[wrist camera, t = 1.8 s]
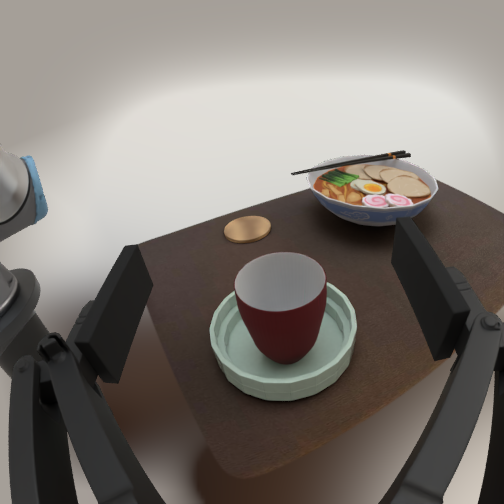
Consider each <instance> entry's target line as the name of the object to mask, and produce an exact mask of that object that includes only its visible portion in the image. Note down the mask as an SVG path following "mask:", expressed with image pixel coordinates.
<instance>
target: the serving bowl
mask: <svg viewBox="0 0 504 504" xmlns="http://www.w3.org/2000/svg"><path fill="white" fill-rule="evenodd" d="M209 330H210V338H211V346H212V348H213V351H214V354H215V357H216V359H217V362H218V365H219V367H220V368H221V370H222V371H223V373H224V375H225V376H226V378H227V380H228V381H230V382H231V383H232V384H233V385H235V386H236V387H237V388H239V389H240V390H241V391H243V392H244V393H246V394H249V395H252V396H255V397H258V398H261V399H264V400H274V401H291V400H292V401H293V400H296V399H300V398H304V397H308V396H311V395H315V394H317V393H318V392H320V391H322V390H323V389H325V388H326V387H328V386H330V385H331V384H333V383H334V382H335V381H336V380H337V379H338V378H339V377H340V376H341V374H342V373H343V372H344V371H345V369H346V368H347V367H348V365H349V363H350V360H351V356H352V353H353V350H354V345H355V338H356V331H357V324H356V316H355V310H354V308H353V307H352V305H351V303H350V302H349V300H348V298H347V297H346V295H344V294H343V293H342V292H341V291H339V290H338V289H337V288H336V287H335V286H333V285H332V284H329V283H327V300H326V307H325V312H324V316H323V320H322V323H321V327H320V330H319V334H318V337H317V340H316V342H315V344H314V346H313V347H312V349H311V350H310V351H309V352H308V353H307V354H306V355H305V356H304V357H303V358H302V359H301V360H299V361H298V362H296V363H293V364H288V365H284V364H279V363H276V362H274V361H273V360H271V359H269V358H268V357H266V356H265V355H264V354H263V353H261V352H260V350H259V349H258V348H257V347H256V345H255V343H254V341H253V339H252V337H251V336H250V334H249V332H248V330H247V328H246V326H245V324H244V322H243V320H242V318H241V315H240V313H239V310H238V306H237V301H236V296H235V291H234V292H232V293H231V294H230V295H229V296H227V297H226V298H225V299H224V300H223V301H222V303H221V304H220V306H219V307H218V308H217V310H216V311H215V312H214V315H213V319H212V322H211V325H210V329H209Z"/></svg>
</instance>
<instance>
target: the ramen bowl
mask: <svg viewBox="0 0 504 504" xmlns="http://www.w3.org/2000/svg"><path fill="white" fill-rule="evenodd" d="M406 157H411V154H410V153H406V154H405V151H397V152H392V153H386V154H381V155H376V156H372V155H357V156H343V157H339V158H335V159H331V160H327V161H324V162H322V163H320V164H318V165H317V166H315V167H313V168H311V169H308V170H303V171H299V172H294V173H291V174H292V175H296V174H301V173H307V172H309V173H308V175H307V177H306V179H307V181H308V183H309V186H310V188H311V190H312V192H313V193H314V195H315V197H316V198H317V199H318V200H319V202H320V203H321V204H322V205H323V206H324V207H325V208H327V209H328V210H329V211H331V212H332V213H334V214H335V215H337V216H338V217H340V218H342V219H344V220H347V221H350V222H353V223H356V224H359V225H368V226H387V225H395V224H396V218H397V217H411V218H413V217H415V216H416V215H417V214H419V213H420V212H421V211H422V210H423V209H424V208H425V207H426V206H427V204H428V203H429V202H430V200H431V199H432V198H433V196H434V195H435V193H436V192H437V190H438V186H437V183H436V180H435V178H434V177H433V176H432V175H431V174H430V173H428V172H427V171H426V170H425V169H424V168H421V167H419V166H417V165H414V164H412V163H410V162H407V161H403V160H399V159H397V158H406ZM305 171H306V172H305ZM300 172H301V173H300ZM295 173H296V174H295Z"/></svg>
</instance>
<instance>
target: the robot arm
mask: <svg viewBox="0 0 504 504" xmlns="http://www.w3.org/2000/svg"><path fill="white" fill-rule="evenodd" d="M47 212H48V207H47V203H46V199H45V196H44V194H43V189H42V186H41V182H40V179H39V175H38V172H37V169H36V166H35V163H34V160H33V158H32V157H31V156H26V157H21V158H19V157H17V156H15V155H13V154H11V153H6V152H5V151H4V149H3V147H2V146H1V144H0V242H1V241H2V240H4V239H6V238H8V237H10V236H11V235H13V234H15V233H17V232H19V231H21V230H22V229H24V228H26V227H28V226H30V225H33V224H36V223H37V221H39V220H41V219H42V218H44V217H45V216H46V214H47ZM391 263H392V265H393V267H394V269H395V271H396V273H397V275H398V278H399V280H400V282H401V284H402V286H403V288H404V290H405V293H406V295H407V297H408V299H409V301H410V304H411V306H412V308H413V310H414V313H415V315H416V317H417V320H418V322H419V324H420V327H421V329H422V331H423V334H424V336H425V339H426V341H427V344H428V346H429V349H430V351H431V354H432V356H433V359H434V361H437V360H441V359H446V358H450V356H451V354H452V352H453V350H454V348H455V351H456V353H457V355H458V356H457V358H456V360H455V362H454V364H453V366H452V368H451V370H450V371H451V373H450V376H449V377H448V380H447V382H446V385H445V387H444V389H443V391H442V394H441V396H440V398H439V400H438V402H437V405H436V407H435V409H434V411H433V413H432V415H431V417H430V419H429V421H428V423H427V425H426V427H425V429H424V431H423V433H422V435H421V437H420V438H419V440H418V442H417V444H416V446H415V447H414V449H413V451H412V453H411V455H410V456H409V458H408V459H407V461H406V463H405V465H404V466H403V468H402V469H401V471H400V473H399V474H398V476H397V477H396V479H395V481H394V482H393V484H392V485H391V487H390V488H389V490H388V491H387V493H386V494H385V495H384V497H383V498H382V500H381V501H380V502H379V503H378V504H443V496H444V493H445V491H446V489H447V487H448V486H449V484H450V482H451V479H452V478H453V476H454V474H455V472H456V469H457V467H458V465H459V463H460V461H461V459H462V456H463V454H464V452H465V450H466V447H467V445H468V443H469V440H470V438H471V436H472V433H473V430H474V428H475V425H476V422H477V420H478V417H479V414H480V411H481V409H482V406H483V403H484V400H485V397H486V394H487V391H488V387H489V384H490V381H491V377H492V374H493V371H495V384H494V385H495V386H494V405H493V417H492V427H491V435H490V443H489V450H488V456H487V462H486V469H485V474H484V479H483V484H482V488H481V492H480V497H479V501H478V504H504V323H503V322H502V321H501V319H500V318H498V316H497V315H495V314H493V313H491V312H487V311H486V310H485V309H484V307H483V305H482V304H481V302H480V300H479V299H478V297H477V295H476V294H475V292H474V291H473V289H472V287H471V286H470V284H469V283H468V282H467V280H466V278H465V277H464V275H463V274H462V273H461V272H460V271H459V270H458V269H456V268H455V267H447V268H445V266H444V265H443V263H442V262H441V260H440V259H439V257H438V256H437V254H436V253H435V251H434V250H433V248H432V247H431V245H430V244H429V242H428V241H427V240H426V238H425V237H424V235H423V234H422V232H421V231H420V230H419V228H418V227H417V225H416V224H415V223H414V221H413V220H412V219H411V217H397V218H396V226H395V236H394V244H393V252H392V260H391ZM152 287H153V283H152V280H151V278H150V275H149V273H148V270H147V268H146V265H145V263H144V260H143V257H142V255H141V252H140V250H139V247H138V244H136V245H128V246H125V247H124V248H123V250H122V252H121V253H120V255H119V257H118V259H117V260H116V262H115V264H114V266H113V267H112V269H111V271H110V273H109V274H108V276H107V278H106V280H105V282H104V284H103V285H102V287H101V289H100V291H99V293H98V295H97V297H96V298H95V300H94V301H89V302H88V303H87V304H86V305H85V306H84V307H83V309H82V311H81V313H80V314H79V318H77V320H76V322H75V325H74V326H73V328H72V330H71V332H70V334H69V336H68V338H67V340H66V342H65V341H64V340H63V338H62V337H61V335H60V334H59V333H56V332H55V333H50V334H47V335H46V336H44V337H43V338H42V339H41V340H40V342H39V343H38V346H37V352H38V353H39V355H40V356H41V357H42V358H43V360H42V361H38V362H36V361H35V360H34V358H33V357H32V356H30V355H25V356H23V357H21V358H20V359H19V360H17V362H16V363H15V365H14V367H13V373H12V383H11V394H10V410H9V474H10V488H11V499H12V504H78V500H77V495H76V490H75V485H74V479H73V474H72V467H71V461H70V454H69V446H68V438H67V431H68V434H69V437H70V440H71V442H72V445H73V447H74V450H75V452H76V455H77V457H78V460H79V462H80V464H81V467H82V469H83V471H84V474H85V476H86V478H87V480H88V482H89V484H90V487H91V489H92V491H93V493H94V495H95V497H96V499H97V501H98V504H166V503H165V502H164V501H163V499H162V498H161V496H160V495H159V493H158V492H157V490H156V489H155V487H154V486H153V484H152V483H151V481H150V479H149V478H148V476H147V475H146V473H145V471H144V470H143V468H142V467H141V465H140V463H139V462H138V460H137V458H136V457H135V455H134V453H133V451H132V450H131V448H130V446H129V444H128V443H127V441H126V439H125V438H124V435H123V433H122V432H121V430H120V428H119V426H118V424H117V422H116V420H115V418H114V416H113V414H112V412H111V410H110V408H109V406H108V404H107V402H106V400H105V398H104V396H103V394H102V392H101V389H100V387H99V385H98V384H97V383H96V379H97V376H98V375H99V377H100V378H101V379H102V380H103V382H106V383H117V384H118V383H119V380H120V377H121V374H122V371H123V368H124V365H125V362H126V359H127V356H128V353H129V350H130V347H131V344H132V341H133V339H134V336H135V333H136V330H137V327H138V325H139V322H140V319H141V316H142V314H143V311H144V308H145V306H146V303H147V300H148V298H149V295H150V293H151V290H152ZM19 291H20V285H19V283H18V281H17V279H16V277H15V276H14V275H13V274H12V273H11V272H10V271H9V270H8V269H6V268H5V267H4V265H2V264H1V263H0V318H1V317H3V316H4V315H5V314H6V313H7V311H8V310H9V309H10V308H11V307H12V305H13V304H14V302H15V300H16V299H17V297H18V294H19Z"/></svg>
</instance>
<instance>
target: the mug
mask: <svg viewBox="0 0 504 504" xmlns="http://www.w3.org/2000/svg"><path fill="white" fill-rule="evenodd" d="M234 291H235V296H236V301H237V306H238V310H239V313H240V315H241V318H242V320H243V322H244V324H245V326H246V328H247V330H248V332H249V334H250V336H251V337H252V339H253V341H254V343H255V345H256V347H257V348H258V349H259V350H260V352H261V353H263V354H264V355H265V356H266V357H268V358H269V359H271V360H273V361H274V362H276V363H279V364H284V365H288V364H293V363H296V362H298V361H299V360H301V359H302V358H303V357H304V356H305V355H306V354H307V353H308V352H309V351H310V350H311V349H312V347H313V346H314V344H315V342H316V340H317V337H318V334H319V330H320V327H321V323H322V320H323V316H324V312H325V307H326V300H327V279H326V273H325V271H324V269H323V267H322V266H321V265H320V264H319V263H318V262H317V261H316V260H314V259H313V258H311V257H308V256H306V255H303V254H299V253H294V252H276V253H270V254H266V255H263V256H260V257H257V258H255V259H253V260H252V261H250V262H248V263H247V264H246V265H244V266H243V267H242V268H241V269H240V271H239V272H238V273H237V275H236V277H235V280H234Z"/></svg>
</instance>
